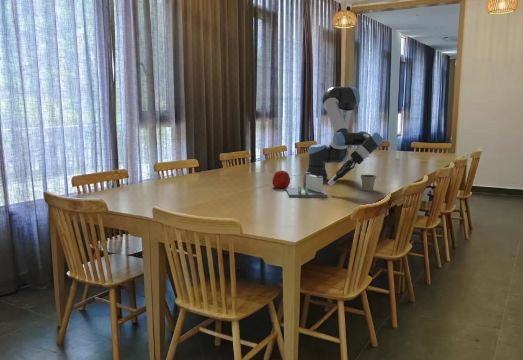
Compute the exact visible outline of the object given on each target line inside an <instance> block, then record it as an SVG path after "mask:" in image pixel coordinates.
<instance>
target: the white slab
mask: <svg viewBox="0 0 523 360" xmlns="http://www.w3.org/2000/svg"><path fill="white" fill-rule="evenodd" d="M302 186H303V187H302V188H305V187H306V186H307V187H308V189H310V190H313V191H316V192H323V190H324V188H323V187H324V180H323V176H315V175H311V173H310V172H307V171H305V172H303V185H302Z"/></svg>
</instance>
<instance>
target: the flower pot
mask: <svg viewBox="0 0 523 360" xmlns="http://www.w3.org/2000/svg"><path fill="white" fill-rule="evenodd" d="M359 176H360V179H361V186H362V191H365V192H371V191H372V192H373V191H374V189H375V182H376V178H377V175H374V174H361V175H359Z"/></svg>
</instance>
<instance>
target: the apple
mask: <svg viewBox="0 0 523 360" xmlns="http://www.w3.org/2000/svg"><path fill="white" fill-rule="evenodd" d="M290 184H291V177H290V175H289V173H288V172H287V171H285V170H278V171H276V172H274V175H273V177H272V185H273V187H274V188H276V189H284V188H285V189H286V188H289V185H290Z"/></svg>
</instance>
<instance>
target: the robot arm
mask: <svg viewBox="0 0 523 360" xmlns="http://www.w3.org/2000/svg"><path fill="white" fill-rule="evenodd" d="M321 100H322V101H321V102H322V106H323V108H324V109H325V110H326V112H327V116H328V118H329V121H330V123H331V125H332V129H333V131H334V132H333V137H332V141H330V142H329V146H328V145H326V144H325V143H318V144H312V145H310V146H309V147H308V159H307V160H308V161H307V164H308V166H307V170H306V172H310V173H311V175H315V176H323V181H325V180H328V178H329V177H328V176H329V175H328V173H327V168H326V164H342V165H341V167H340V168H339V169H338V170H337V171H336V173H335V175H333V176H332V177H331V179H330V180H328V182H327V184H328V185H329V186H330V187H332V186H333V185H334V184H335V183H336V182H337V181H339V179H342V178H344V176H346V175H347V174H348V173H349V172H350V171H352V170H353V169H355V166H356V164H358V165H361V164H362V163H363V161H365V160H366V159H367V158H369V157H370V155H371V154H372V153H373V152H374V151H375V150H377V148H378V147H380V145H381V144H382V143H383V142H384V138H383V137H382V135H381V134H380V133H378V132H376V131H374V132H372V133H371V134H370V133H368V132H367V131H362V130H361V131H359V132H349V126H350V121H351V115H352V112H353V111H354V110H355V108H356V107H357V106H359V105H360V102H361V101H360V100H361V95H360V91H359V89H358V88H357V87H355V86H332V87H329V88H328V89H327V90H325V92H324V93H323V95H322V99H321ZM348 146H349V147H350V146H353V147H355V146H357V147H356V149H355V150H353V152H351V154H350V155H349V150H350V149H349V147H348ZM349 156H350V159H348V158H349ZM343 163H344V164H343Z"/></svg>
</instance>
